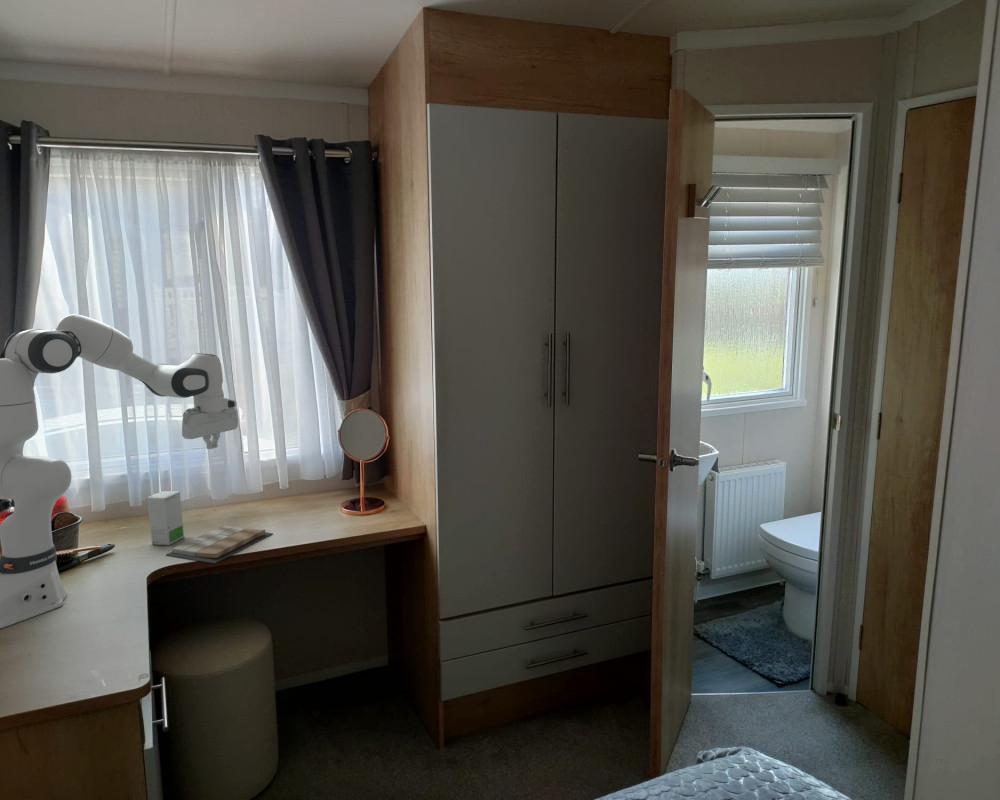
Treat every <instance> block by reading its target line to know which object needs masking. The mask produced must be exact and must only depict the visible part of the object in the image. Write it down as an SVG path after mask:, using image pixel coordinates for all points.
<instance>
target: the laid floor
mask: <svg viewBox="0 0 1000 800" xmlns="http://www.w3.org/2000/svg"><path fill="white" fill-rule="evenodd" d="M244 529H245V527H237V526H236V527H235V526H230V525H229V526H228V525H221V526H220V527H217V528H215V529H213V530H210V531H208V532H207V533H204V534H202V535H200V536H197V537H195V538H193V539H191V540H188V541H186V542H184V543H181V544H179V545H177V546H175V547H173V548H171V552H172V553H178V554H184V555H190V556H196V554H195V552H197V551H200V550H202V549H204V548H206V547H208V546H210V545H212V544H214V543H217V542H219V541H221V540H223V539H225V538H227V537H229V536H231V535H233V534H236V533H238V532H240V531H242V530H244Z"/></svg>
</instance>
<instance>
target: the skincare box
mask: <svg viewBox="0 0 1000 800" xmlns="http://www.w3.org/2000/svg"><path fill="white" fill-rule="evenodd" d="M146 499H147V500H146V501H147V506H148V507H147V509H148V519H149V526H150V538H151V545H157V546H170V545H172V544H174V543H176V542H178V541H179V540H182V539H183V538H185V532H184V523H183V513H182V503H181V491H179V490H177V491H176V490H175V491H173V490H172V491H170V490H162V491H160V492H157V493H154V494H152V495H149V496H147V498H146Z"/></svg>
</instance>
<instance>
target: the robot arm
mask: <svg viewBox="0 0 1000 800" xmlns="http://www.w3.org/2000/svg"><path fill="white" fill-rule="evenodd" d="M133 351H134V345H133V342H132V340H131V338H130V337H128V336H127V335H126V334H125V333H123V332H121V331H120V330H119V329H116V328H114V327H113V326H111V325H108V324H106V323H104V322H102V321H99V320H96V319H95V318H92V317H89V316H85V315H82V314H78V313H71V314H68V315H66V316H64V317H63V318H61V320H59V322H58V323H57V325H56V327H55V328H54V329H53V330H52V329H51V330H50V329H42V328H32V329H29V328H26V329H25V328H24V329H21V330H18V331H16V332H14V333H12V334H10V336H9V337H8V338H7V339H6V341H5V344H4V347H3V350H2V351H1V353H0V500H13V503H14V508H13V512H12V513H11V514H9V515H8V516H7V517H5V518H4V519H3V520H2V521H1V522H0V545H1V555H0V629H2V628H6V627H9V626H12V625H14V624H17V623H19V622H22V621H25V620H27V619H31V618H33V617H35V616H38V615H41V614H44V613H47V612H49V611H52V610H55V609H57V608H60V607H62V606H63V605H64V602H63V601H64V600H65V599H66V598H67V594H68V593H67V591H66V589H65V588H64V585H63V583H62V580H61V577H60V573H59V570H58V566H57V559H58V557H57V549H56V545H55V544H54V542H53V541H54V540H53V532H52V513H53V509H54V507H55V505H56V503H57V501H58V500H59V499H60V498H61V497H62V496H63V495H64V494H65V493H67V490H69V487H70V486H71V484H72V473H71V471H72V470H71V468H70V466H69V465H68V464H67V462H65V461H64V460H61V459H59V458H58V459H57V458H53V457H48V456H37V455H36V456H32V455H31V456H30V455H29V456H28V455H27V456H26V455H25V456H24V446H25V443H26V442H27V441H29V440H30V439H31V438H33V437H34V436H35V435H36V434H37V432H38V430H39V419H38V412H37V404H36V403H37V402H36V396H35V395H36V394H35V390H34V388H35V383H36V382H35V381H36V379H37V376H38V375H39V374H57V373H61V372H65V371H66V370H67V369H69V368H70V367H71V366H72V365H73V364H74V362H75V361H76V359H77V358H78V357H79V358H81V359H83V360H85V361H87V362H90V363H91V364H94V365H97V366H99V367H102V368H106V369H109V370H116V371H119V372H121V373H124V374H125V375H128V376H130V377H131V378H133V379H136V380H138V381H139V382H141V383H142V384H143V385H145V387H146V388H147V389H148V390H149V391H150V393H152V394H154V395H155V396H158V397H170V398H171V397H173V398H179V399H180V398H181V399H185V398H186V399H187V398H191V397H192V399H193V407H192V408H190V407H189V408H186V410H185V411H184V412H183V413H182V421H181V422H182V423H181V436H182V437H183V438H184V439H185V440H194V439H195V440H196V439H200V438H202V440H203V441H204V443H205V445H206V450H212V449H216V448H218V447H219V445H218V443H219V440H220V437H221V434H222V433H225V432H229V431H233V430H237V428H238V426H239V415H238V410H237V408H236V407H237V401H236V400H235V399H229V398H227V397H226V398H225V393H224V391H223V381H224V379H223V378H224V377H223V368H222V363H221V359H220V358H219V356H218V355H216V354H212V353H203V352H195V353H193V354H192V355H191V357H190V358H189V359H187V360H186V361H184V362H182V363H180V364H179V365H176V364H175V365H174V364H167V363H153V362H151V361H149V360H147V359H146V358H143V357H142V356H139V355H137V354H135V353H134V352H133ZM211 439H212V440H211Z"/></svg>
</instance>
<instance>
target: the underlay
mask: <svg viewBox="0 0 1000 800" xmlns="http://www.w3.org/2000/svg"><path fill="white" fill-rule="evenodd" d="M272 535H274V534H273V533H271V532H266V534H264V535H262V536H260V537H258V538H256V539H254V540H252V541H250V542H248V543H246V544H244V545H242V546H240V547H238V548H236V549H234V550H232V551H230V552H228V553H226V554H224V555H222V556H220V557H218V558H210V557H198V556H190V555H184V554H178V553H172V551H169V552H168V553H166V554H165V556H166V557H167V556H168V557H173V558H177V557H178V558H179V559H184V560H189V561H197V562H202V563H208V564H212V565H213V564H214V565H215V564H217V563H219V562H221V561H223V560H225V559H228V557H231V556H232V555H235V554H237V553H239V552H241V551H243V550H244V549H246V548H248V547H251V546H253V545H254V544H257V543H258V542H260V541H262V540H264V539H267V538H269V537H270V536H272Z"/></svg>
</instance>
